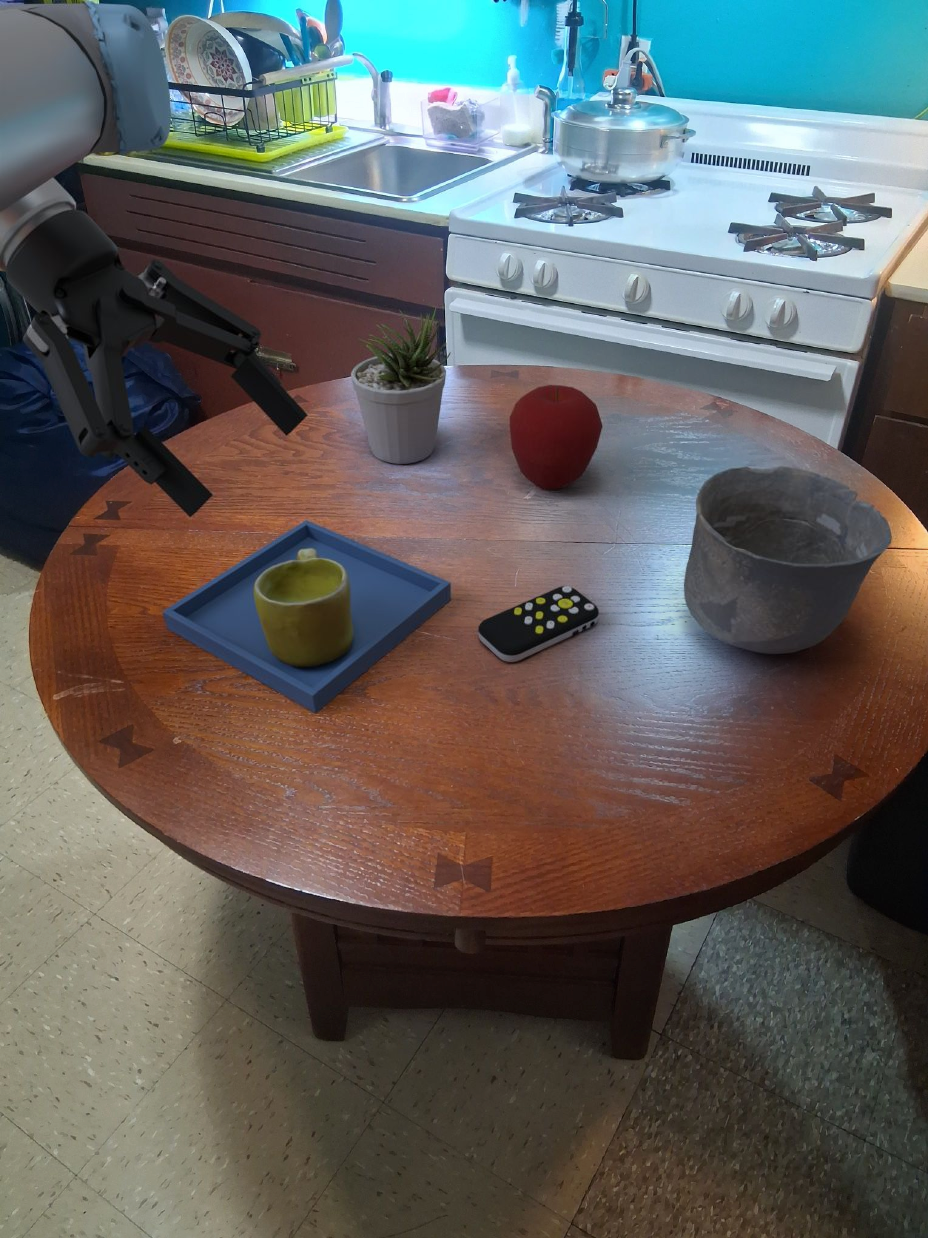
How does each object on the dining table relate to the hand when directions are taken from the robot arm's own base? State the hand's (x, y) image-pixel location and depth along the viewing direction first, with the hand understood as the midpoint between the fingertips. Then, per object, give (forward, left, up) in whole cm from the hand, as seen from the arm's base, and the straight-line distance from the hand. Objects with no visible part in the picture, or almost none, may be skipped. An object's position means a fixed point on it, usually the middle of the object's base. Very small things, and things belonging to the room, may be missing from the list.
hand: (253, 463), depth 68 cm
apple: (+49, +1, -26) cm, 56 cm away
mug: (+8, +5, -25) cm, 27 cm away
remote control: (+22, -14, -26) cm, 37 cm away
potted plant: (+44, +22, -26) cm, 56 cm away
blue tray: (+10, +8, -26) cm, 29 cm away
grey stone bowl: (+35, -33, -26) cm, 55 cm away
